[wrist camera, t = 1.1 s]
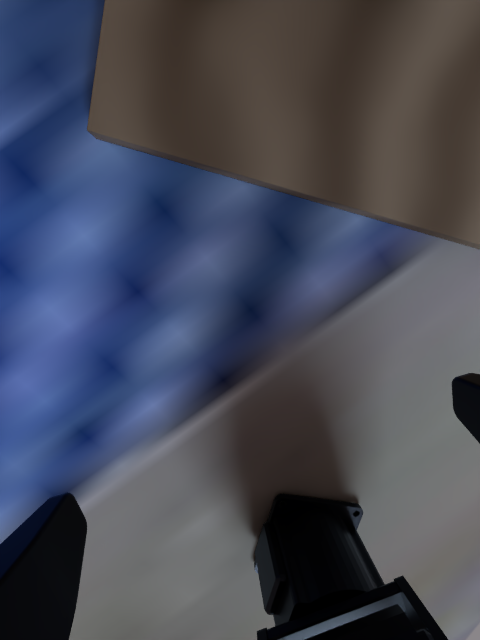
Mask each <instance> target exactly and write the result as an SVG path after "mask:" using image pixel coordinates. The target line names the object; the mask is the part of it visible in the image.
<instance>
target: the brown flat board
mask: <svg viewBox="0 0 480 640" xmlns="http://www.w3.org/2000/svg"><path fill="white" fill-rule="evenodd" d="M87 131H88V132H90V133H91V134H92V135H93V136H94V137H95V138H96V139H99V140H103V141H106V142H110V143H113V144H116V145H120V146H123V147H127V148H130V149H134V150H137V151H141V152H144V153H148V154H151V155H155V156H158V157H162V158H165V159H168V160H172V161H175V162H179V163H182V164H186V165H189V166H193V167H196V168H200V169H203V170H207V171H210V172H213V173H217V174H220V175H224V176H227V177H231V178H234V179H238V180H241V181H245V182H248V183H252V184H255V185H259V186H262V187H265V188H269V189H272V190H276V191H279V192H283V193H286V194H290V195H293V196H297V197H300V198H304V199H307V200H310V201H314V202H317V203H321V204H324V205H328V206H331V207H335V208H338V209H342V210H345V211H349V212H352V213H356V214H359V215H362V216H366V217H369V218H373V219H376V220H380V221H383V222H387V223H390V224H394V225H397V226H401V227H404V228H407V229H411V230H414V231H418V232H421V233H425V234H428V235H432V236H435V237H439V238H442V239H446V240H449V241H453V242H456V243H459V244H463V245H466V246H470V247H473V248H477V249H480V0H105V4H104V11H103V18H102V25H101V33H100V40H99V47H98V54H97V61H96V69H95V76H94V83H93V90H92V98H91V105H90V112H89V119H88V126H87Z"/></svg>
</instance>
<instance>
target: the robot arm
mask: <svg viewBox="0 0 480 640" xmlns="http://www.w3.org/2000/svg"><path fill="white" fill-rule="evenodd" d="M452 396H453V409H454V412H455V414H456V416H457V418H458V419H459V420H460V421H461V422H462V424H463V425H464V426H465V427H466V428H467V429H468V430H469V432H470V433H471V434H472V435H473V436H474V437H475V439H476V440H477V441H478V442H479V443H480V374H475V373H468V374H465V375H461V376H458V377H455V378H454V379H453V381H452ZM282 501H284V502H283V503H280V502H282ZM355 511H356V512H355ZM362 515H363V510H362V509H361V507H360V505H359V504H356V503H348V502H341V501H333V500H326V499H318V498H311V497H303V496H296V495H288V494H279V495H277V496H276V497H275V499H274V502H273V505H272V508H271V512H270V515H269V518H268V521H267V522H265V524H264V525H263V528H262V531H261V534H260V537H259V540H258V543H257V547H256V550H255V557H256V559H255V562H254V567H255V571H256V572H257V573H258V574H259V580H260V586H261V592H262V598H263V604H264V609H265V611H266V613H267V614H268V615H273V616H274V621H275V627H273V628H270V629H267V628H264V629H262V630H259V631H257V640H448V639H447V637H446V636H445V634H444V633H443V631H442V630H441V629H440V627H439V626H438V624H437V623H436V622H435V620H434V619H433V617H432V616H431V615H430V613H429V612H428V610H427V609H426V607H425V606H424V605H423V603H422V602H421V600H420V599H419V598H418V596H417V595H416V593H415V592H414V591H413V589H412V588H411V586H410V585H409V583H408V582H407V581H406V579H405V578H404V576H400V577H398V578H395V579H394V581H393V582H390V583H388V584H384V582H383V580H382V578H381V576H380V575H379V573H378V571H377V569H376V567H375V565H374V563H373V561H372V559H371V557H370V555H369V554H368V552H367V550H366V548H365V546H364V544H363V542H362V540H361V538H360V536H359V534H358V533H357V528H358V525H359V523H360V520H361V518H362ZM86 534H87V522H86V519H85V517H84V515H83V513H82V511H81V509H80V507H79V505H78V503H77V501H76V499H75V497H74V496H73V494H71V493H68V492H66V493H63V494H60V495H56V496H53V497H51V498H49V499H48V500H47V501H46V502H45V503H44V504H43V505H42V506H40V507H39V508H38V509H37V510H36V511H35V512H34V513H33V514H32V515H31V516H30V517H29V518H28V519H27V520H26V521H25V522H23V523H22V524H21V525H20V526H19V527H18V528H17V529H16V530H15V531H14V532H13V533H12V534H11V535H10V536H9V537H8V538H6V539H5V540H4V541H3V542H2V543H1V544H0V640H69V636H70V631H71V627H72V623H73V618H74V614H75V609H76V603H77V597H78V591H79V584H80V577H81V570H82V562H83V555H84V548H85V541H86Z"/></svg>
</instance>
